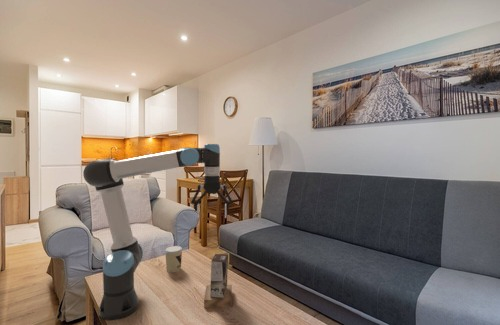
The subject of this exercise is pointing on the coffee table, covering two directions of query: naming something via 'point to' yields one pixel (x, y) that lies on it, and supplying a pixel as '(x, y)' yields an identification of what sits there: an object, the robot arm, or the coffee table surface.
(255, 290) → the coffee table surface
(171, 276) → the coffee table surface
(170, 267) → the coffee cup
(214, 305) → the walnut block
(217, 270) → the coffee box
